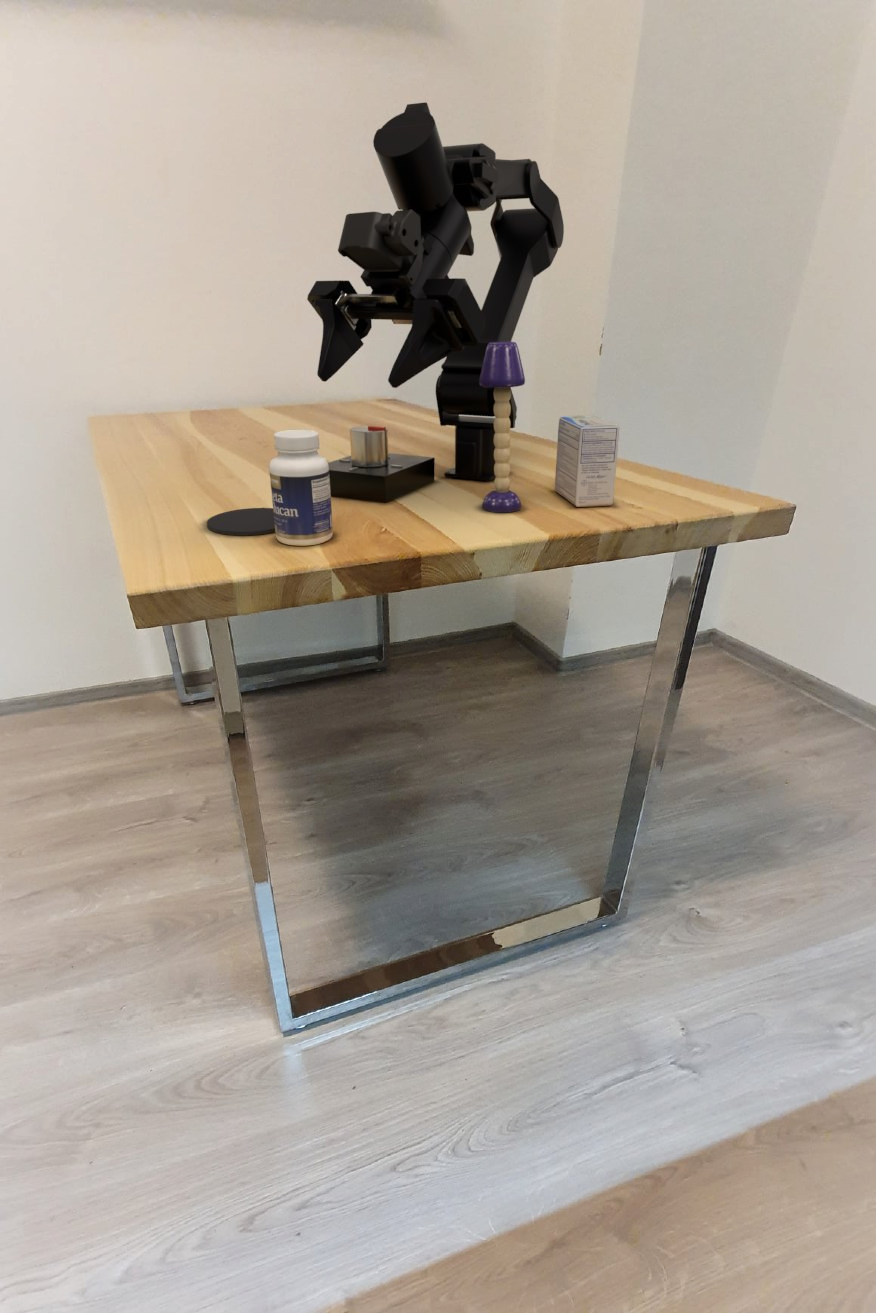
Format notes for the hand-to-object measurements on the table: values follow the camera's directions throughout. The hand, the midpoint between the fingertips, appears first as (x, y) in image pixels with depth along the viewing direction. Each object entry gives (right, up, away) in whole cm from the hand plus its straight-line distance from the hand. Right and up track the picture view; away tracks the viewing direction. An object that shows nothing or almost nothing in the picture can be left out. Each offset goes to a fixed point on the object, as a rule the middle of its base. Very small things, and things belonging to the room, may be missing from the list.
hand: (355, 381), depth 69 cm
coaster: (-11, -13, +5) cm, 17 cm away
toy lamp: (+15, -10, +10) cm, 21 cm away
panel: (0, -6, +19) cm, 20 cm away
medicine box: (+24, -8, +14) cm, 29 cm away
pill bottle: (-5, -15, 0) cm, 16 cm away
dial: (0, -3, +17) cm, 17 cm away
